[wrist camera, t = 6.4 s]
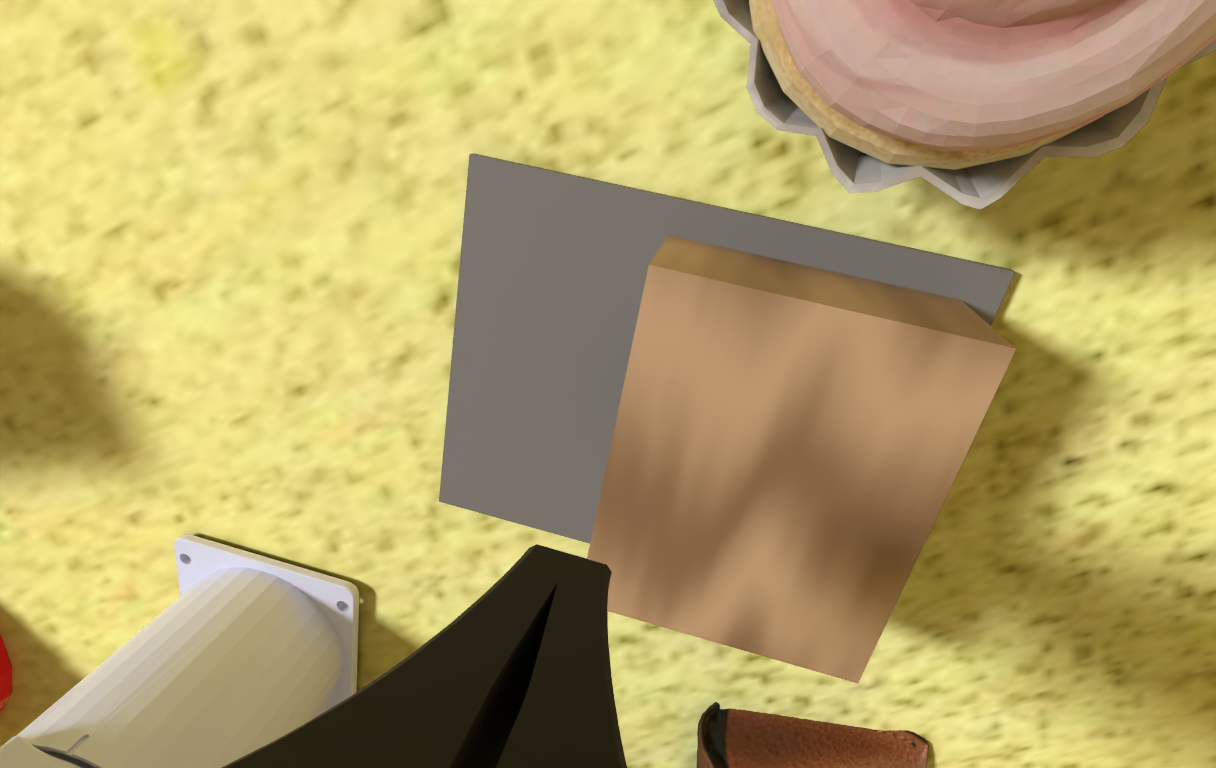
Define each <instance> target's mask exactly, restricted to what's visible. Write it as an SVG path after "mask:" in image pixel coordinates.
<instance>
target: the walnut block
mask: <svg viewBox="0 0 1216 768" xmlns="http://www.w3.org/2000/svg"><path fill="white" fill-rule="evenodd" d="M1015 351H1016V348H1015V347H1014V346H1013V345H1012V344H1011V343H1009V342H1008V341H1007V340H1006V339H1005V338H1004V337H1003V336H1001V335H1000V334H999V333H998V332H997V331H996V330H995V329H993V328H992V327H991V326H990V325H989V324H988V323H987V322H985V321H984V320H983V319H982V318H981V317H980V316H979V315H977V314H976V313H975V312H974V311H973V310H972V309H971V308H969V307H968V306H967V305H966V304H965V303H964V302H963V301H961V300H959V299H955V298H950V297H946V296H941V295H937V294H932V293H928V292H923V291H919V290H914V289H910V288H905V287H901V286H896V285H892V284H887V283H883V282H878V281H874V280H869V279H865V278H860V277H856V276H851V275H847V274H842V273H838V272H833V271H829V270H824V269H820V268H815V267H811V266H806V265H802V264H797V263H793V262H788V261H784V260H779V259H775V258H770V257H766V256H761V255H757V254H752V253H748V252H743V251H739V250H734V249H730V248H725V247H721V246H716V245H712V244H707V243H703V242H698V241H694V240H689V239H685V238H680V237H676V236H671V235H668V237H667V238H666V240H665V241H664V243H663V244H662V246H661V247H660V249H659V250H658V252H657V253H656V255H655V256H654V258H653V259H652V261H651V262H650V264H649V266H648V271H647V276H646V281H645V285H644V290H643V295H642V300H641V304H640V309H639V314H638V319H637V324H636V328H635V333H634V338H633V343H632V347H631V352H630V357H629V362H628V366H627V371H626V376H625V381H624V385H623V390H622V395H621V400H620V404H619V409H618V414H617V419H616V423H615V428H614V433H613V438H612V443H611V447H610V452H609V457H608V462H607V466H606V471H605V476H604V481H603V485H602V490H601V495H600V500H599V504H598V509H597V514H596V519H595V523H594V528H593V533H592V538H591V543H590V547H589V552H588V557H587V559H589V560H593V561H596V562H599V563H603V564H606V565H608V567H609V569H610V570H611V572H612V574H611V578H610V583H609V590H608V605H607V611H609V612H613V613H616V614H620V615H623V616H627V617H630V618H634V619H637V620H640V621H644V622H647V623H651V624H654V625H658V626H661V627H665V628H668V629H672V630H675V631H679V632H682V633H685V634H689V635H692V636H696V637H699V638H703V639H706V640H710V641H713V642H717V643H720V644H724V645H727V646H730V647H734V648H737V649H741V650H744V651H748V652H751V653H755V654H758V655H762V656H765V657H769V658H772V659H775V660H779V661H782V662H786V663H789V664H793V665H796V666H800V667H803V668H807V669H810V670H814V671H817V672H820V673H824V674H827V675H831V676H834V677H838V678H841V679H845V680H848V681H852V682H855V683H858V682H859V680H860V678H861V676H862V674H863V672H864V670H865V668H866V665H867V663H868V661H869V659H870V657H871V655H872V653H873V651H874V649H875V646H876V644H877V642H878V640H879V638H880V636H881V634H882V632H883V630H884V627H885V625H886V623H887V621H888V619H889V617H890V615H891V613H892V611H893V608H894V606H895V604H896V602H897V600H898V598H899V596H900V594H901V591H902V589H903V587H904V585H905V583H906V581H907V579H908V577H909V575H910V572H911V570H912V568H913V566H914V564H915V562H916V560H917V558H918V556H919V553H920V551H921V549H922V547H923V545H924V543H925V541H926V539H927V537H928V534H929V532H930V530H931V528H932V526H933V524H934V522H935V520H936V518H937V515H938V513H939V511H940V509H941V507H942V505H943V503H944V501H945V499H946V496H947V494H948V492H949V490H950V488H951V486H952V484H953V482H954V480H955V477H956V475H957V473H958V471H959V469H960V467H961V465H962V463H963V460H964V458H965V456H966V454H967V452H968V450H969V448H970V446H971V444H972V441H973V439H974V437H975V435H976V433H977V431H978V429H979V427H980V425H981V422H982V420H983V418H984V416H985V414H986V412H987V410H988V408H989V406H990V403H991V401H992V399H993V397H994V395H995V393H996V391H997V389H998V387H999V384H1000V382H1001V380H1002V378H1003V376H1004V374H1005V372H1006V370H1007V368H1008V365H1009V363H1010V361H1011V359H1012V357H1013V355H1014V353H1015Z"/></svg>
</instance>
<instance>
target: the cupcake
mask: <svg viewBox="0 0 1216 768" xmlns="http://www.w3.org/2000/svg"><path fill="white" fill-rule="evenodd" d="M713 1H714V3H715V5H716V7H717V10H718V12H719V14H720V16H721V17H722V18H723V19H724V20H725V21H726V22H727V23H728V24H729V25H731V26H732V27H733V28H734V29H735V30H736V31H737V32H738V33H739V34H741V35H742V36H743V37H744V38H745V39H746V40H747V41H748V42H749V43H750V56H749V67H748V79H747V89H748V92H749V94H750V97H751V99H752V101H753V104H754V106H755V109H756V111H757V113H758V114H759V115H760V116H761V117H763V118H764V119H765V120H766V121H767V122H768V123H770V124H771V125H772V126H773V127H774V128H776V129H777V130H780V131H787V132H793V133H799V134H806V135H812V136H817V139H818V141H819V144H820V146H821V148H822V151H823V153H824V155H825V158H826V160H827V162H828V165H829V167H830V169H831V172H832V174H833V175H834V176H835V177H836V178H837V180H838V181H839V182H840V183H841V184H842V185H843V186H844V187H845V189H846V190H847V191H848V192H849V193H860V192H876V191H880V190H883V189H886V188H888V187H891V186H894V185H897V184H900V183H903V182H905V181H908V180H911V179H914V178H917V177H922V178H923V179H925V180H926V181H928V182H929V183H931V184H932V185H934V186H935V187H937V188H938V189H940V190H941V191H943V192H944V193H946V194H947V195H949V196H950V197H952V198H953V199H955V200H956V201H958V202H959V203H961V204H963V205H966V206H970V207H973V208H977V209H980V210H981V209H982V208H984V207H986V206H988V205H989V204H991V203H993V202H995V201H996V200H998V199H1000V198H1001V197H1002V196H1003V195H1004V194H1005V193H1006V192H1008V191H1009V190H1010V189H1011V188H1012V187H1013V186H1014V185H1015V184H1016V183H1017V182H1018V181H1019V180H1020V179H1021V178H1022V177H1024V176H1025V175H1026V174H1027V173H1028V172H1029V171H1030V170H1031V169H1032V168H1033V167H1034V166H1035V165H1036V164H1037V163H1039V162H1040V161H1041V160H1042V159H1043V158H1044V157H1045V156H1052V157H1091V158H1094V157H1096V156H1099V155H1102V154H1105V153H1107V152H1110V151H1113V150H1115V149H1118V148H1121V147H1123V146H1124V145H1125V144H1126V143H1127V142H1128V141H1129V140H1130V139H1131V138H1132V137H1133V136H1134V135H1135V134H1136V133H1137V132H1138V131H1139V130H1140V129H1141V128H1142V127H1143V126H1144V125H1145V124H1146V123H1147V122H1148V120H1149V118H1150V115H1151V113H1152V111H1153V109H1154V106H1155V104H1156V102H1157V100H1158V97H1159V95H1160V93H1161V91H1162V88H1163V86H1164V84H1165V82H1166V79H1167V77H1169V76H1170V75H1172V74H1173V73H1174V72H1175V71H1177V70H1178V69H1179V68H1180V67H1182V66H1184V65H1186V64H1188V63H1190V62H1192V61H1195V60H1197V59H1199V58H1201V57H1203V56H1205V55H1207V54H1209V53H1211V52H1213V51H1216V0H713Z"/></svg>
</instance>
